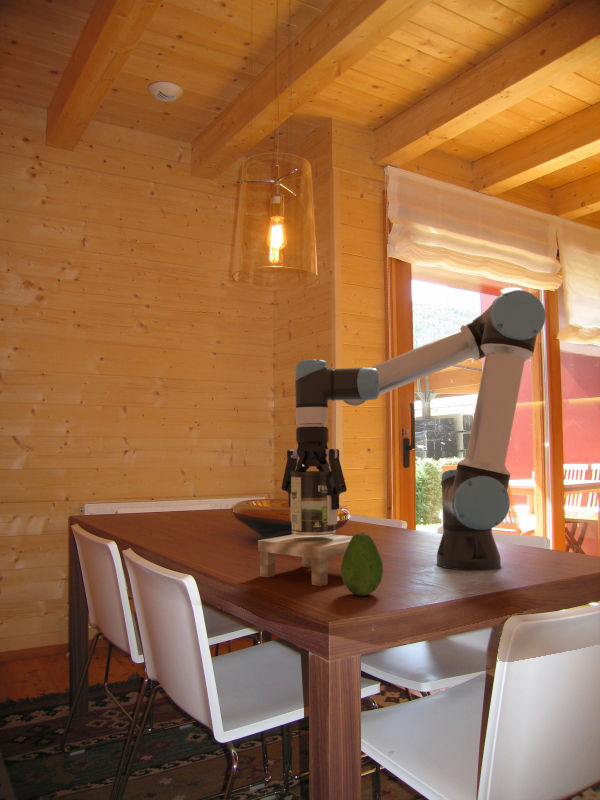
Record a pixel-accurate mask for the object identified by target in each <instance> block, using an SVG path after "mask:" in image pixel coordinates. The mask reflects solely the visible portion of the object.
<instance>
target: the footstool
mask: <svg viewBox="0 0 600 800" xmlns="http://www.w3.org/2000/svg"><path fill="white" fill-rule="evenodd" d="M353 536H354V535H343V534H330V535H316V536H308V535H296V534H289V535H283V536H282V535H281V536H276V537H270V538H265V539H259V540H257V551H258V552H259V577H262V578H263V577H264V578H271V577H275V575H276V569H275V568H276V554H277V555H278V554H279V555H284V556H285V555H286V556H293V557H294V556H295V557H301V567H303V568H304V567H305V568H311V585H313V586H318V587H323V586H326V585H327V586H328V583H329V581H328V558H332V557H336V556H340V555H344V554H345V551H346V549H347V547H348V544H349V542H350V540H351V539H352V537H353Z"/></svg>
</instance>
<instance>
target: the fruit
mask: <svg viewBox="0 0 600 800" xmlns="http://www.w3.org/2000/svg"><path fill="white" fill-rule="evenodd" d="M352 536H353V537H352V539H351V540H350V542H349V544H348V547H347V549H346V551H345V554H343V557H342V561H341V565H340V566H341V567H340V568H341V569H340V574H341V579H342V582H343V584H344V585H345V587H346V588H347V590H348V591H349V592H351V593H352V594H353V595H356V596H358V597H359V596H368V595H370V594H371V593H373V592H374V591H376V590H377V588H378V587H379V585H380V584H381V583H382V579H383V573H384V567H383V566H384V564H383V560H382V558H381V555H380V552H379V550H378V547H377V545H376V543H375V541H374V540H373V539H372V537H371V536H370V535H369V534H366V533H364V532H359V533H356V534H354V535H352Z"/></svg>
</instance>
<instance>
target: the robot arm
mask: <svg viewBox="0 0 600 800" xmlns="http://www.w3.org/2000/svg"><path fill="white" fill-rule="evenodd" d="M545 322H546V310H545V307H544V304H543V303H542V302H541V300H540V299H539V298H538V297H537V296H536V295H534V293H531V292H529V291H527V290H522V289H513V290H508V291H505V292H504V293H502V294H500V295H499V296H497V297H496V298H495V299H494V300H493V301H492V303H491V305H490V306H489V307H488V308H487V309H486V310H485V311H484V312H483V313H481V314H480V315H478V316H477V317H476V318H474V319H472V320H471V321H468V322H467V323H464V324H462V325H461V326H460V329H459V330H457V331H455V332H452V333H450V334H447V335H445V336H443V337H441V338H438V339H435V340H433V341H431V342H428V343H425V344H423V345H422V346H419V347H416V348H413V349H410V350H409V351H407V352H404V353H402V354H399V355H397V356H394V357H392V358H389V359H387V360H385V361H382V362H380V363H377V364H374V365H372V366H371V367H370V366H369V367H366V366H365V367H363V366H362V367H351V368H347V367H346V368H329V366H328V362H327V361H326V360H323V359H303V360H300V361H298V362H297V363H296V366H295V380H294V382H295V425H296V426H298V427H296V429H295V432H296V433H295V442H296V443H297V448H296V449H287V451H286V459H287V460H286V462H285V463H286V464H285V469H284V474H283V478H282V483H281V491H284V492H287V494H288V507H289V508H291V473H290V472H294V471H295V472H306V471H308V469H309V468H310V467H315V468H316V469H317V471H319V472H332V476H331V477H328V476H326V487H327V489H328V491H329V494H328V495H327V525H333V524H335V525H338V515H337V514H338V510H340V495H341V494H343V493H346V492H347V489H348V488H347V485H346V482H345V481H346V480H345V477H344V474H343V473H344V472H343V468H342V465H341V462H340V450H339V448H329V447H328V443H329V428H328V427H327V426H326V425H328V424H329V405H328V403H329V401H332V402H333V401H343V402H344V403H345V404H347V405H349V406H355V407H356V406H360V405H363V404H364V403H365V402H367V401H371V400H377V399H378V398H379V396H381V395H383V394H385V393H389V392H391V391H394V390H396V389H398V388H400V387H403V386H406V385H409V384H411V383H413V382H415V381H417V380H421V379H423V378H425V377H428V376H431V375H432V374H435V373H437V372H440V371H443V370H445V369H447V368H450V367H453V366H454V365H457V364H460V363H462V362H465V361H468V360H470V359H473V360H475V361H479V360H481V359H483V358H484V363H483V368H482V373H481V378H480V379H481V380H480V382H479V383H480V384H479V389H478V393H477V398H476V399H477V400H476V404H475V409H474V414H473V415H474V416H473V419H472V423H471V429H470V435H469V440H468V444H467V445H468V446H467V450H466V454H465V457H464V458H463V459H462V460H460V461H458V462H457V464H456V465H457V466H456V469H448V470H445V471H443V472H442V473H441V482H440V485H441V498H442V499H441V501H442V536H441V540H440V542H439V544H438V545H439V546H438V548H437V553H436V564H437V565H438V566H441V567H443V568H448V569H454V570H455V569H456V570H467V571H484V570H487V571H488V570H493V569H499V568H500V567H502V561H501V554H500V552H499V550H498V547H497V543H496V541H495V538H494V535H493V528H495V527H498V526H499V525H500V524H501V523H502V522H503V521H504V520H505V519H506V518H507V516H508V513H509V510H510V507H511V506H510V504H511V503H510V502H511V501H510V494H509V492H508V488H509V483H510V478H511V473H510V471H509V470H508V469H507V467H506V460H507V455H508V450H509V445H510V439H511V435H512V430H513V424H514V418H515V414H516V407H517V402H518V400H519V399H518V398H519V392H520V388H521V383H522V382H521V381H522V376H523V374H524V373H523V372H524V366H525V363H526V361H528V359H531V357H534V352H535V348H536V342H537V337H538V334H540V333H541V331H542V329H543V327H544V324H545ZM327 458H328V460H327ZM290 522H291V523H292V511H291V510H290Z"/></svg>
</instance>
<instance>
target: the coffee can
mask: <svg viewBox="0 0 600 800" xmlns="http://www.w3.org/2000/svg"><path fill="white" fill-rule="evenodd" d="M295 471H296V470H295ZM295 471H294V472H290V473H291V507H290V512H291V511H292V522H291V535H293V534H296V535H308V536H316V535H330V534H333V535H335V534H336V524H333V525H327V495H328V494H329V491H328V489H327V487H326V476H328V477H331V476H332V472H319V470H307V471H306V472H295Z"/></svg>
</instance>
